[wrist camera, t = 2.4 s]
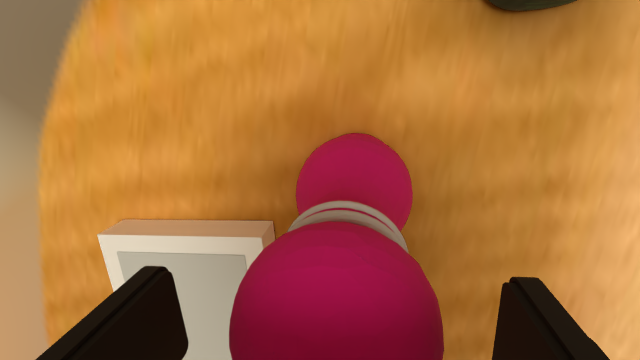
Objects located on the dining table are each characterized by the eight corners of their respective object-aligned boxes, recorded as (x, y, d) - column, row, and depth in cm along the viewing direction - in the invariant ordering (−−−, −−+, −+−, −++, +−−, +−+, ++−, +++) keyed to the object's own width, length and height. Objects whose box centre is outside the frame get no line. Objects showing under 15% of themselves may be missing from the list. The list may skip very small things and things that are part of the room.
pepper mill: (291, 161, 25) (40, 423, 6) (368, 105, 23) (365, 235, 4) (345, 232, 26) (278, 642, 7) (423, 185, 24) (631, 592, 5)
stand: (272, 220, 27) (260, 238, 24) (287, 353, 31) (278, 383, 28) (123, 219, 29) (95, 235, 26) (156, 343, 33) (134, 370, 30)
